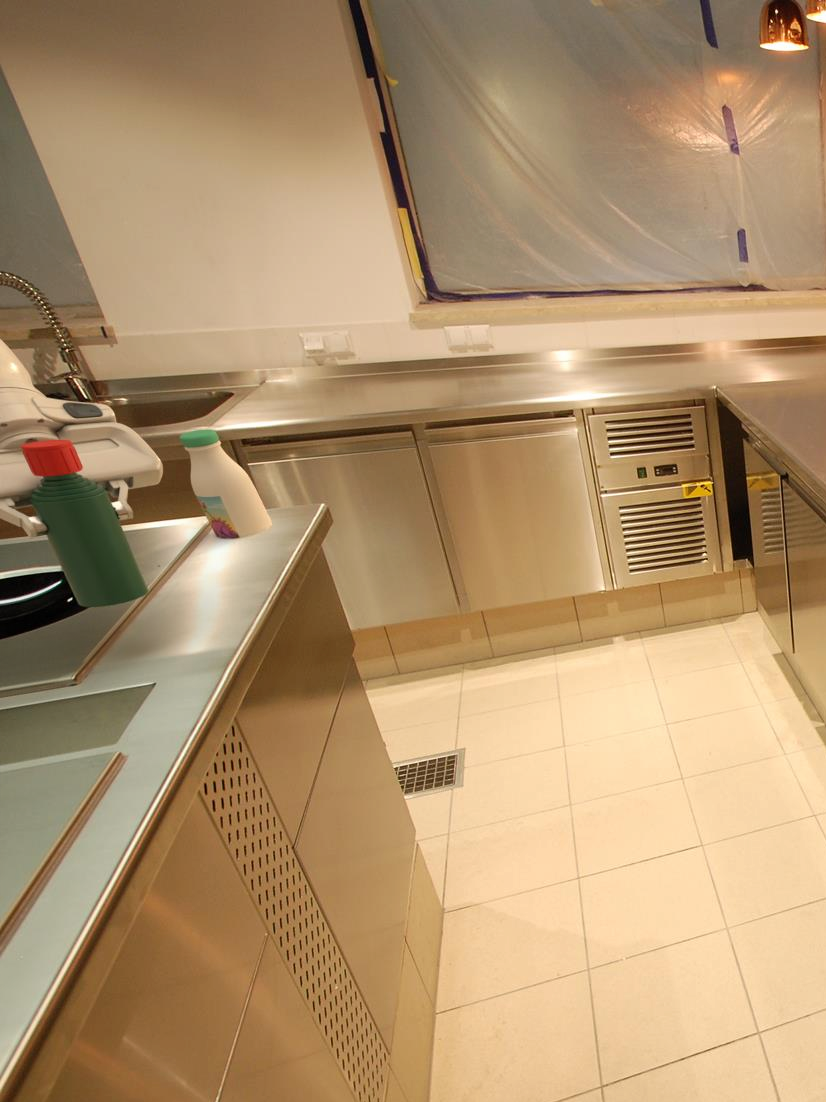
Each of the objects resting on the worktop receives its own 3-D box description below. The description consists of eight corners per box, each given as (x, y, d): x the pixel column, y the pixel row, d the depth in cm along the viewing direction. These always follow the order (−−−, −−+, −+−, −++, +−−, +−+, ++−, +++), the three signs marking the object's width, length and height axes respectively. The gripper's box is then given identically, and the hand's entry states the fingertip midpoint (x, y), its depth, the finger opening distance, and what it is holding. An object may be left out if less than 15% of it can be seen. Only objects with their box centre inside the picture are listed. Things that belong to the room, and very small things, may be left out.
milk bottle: (276, 534, 147) (222, 422, 136) (285, 547, 142) (231, 432, 132) (222, 548, 142) (162, 433, 132) (229, 562, 138) (168, 444, 127)
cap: (27, 477, 94) (14, 448, 93) (41, 469, 97) (28, 441, 96) (76, 474, 96) (64, 445, 95) (88, 466, 99) (76, 438, 98)
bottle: (70, 610, 100) (-3, 456, 92) (88, 592, 105) (20, 444, 97) (140, 601, 102) (75, 450, 94) (154, 584, 107) (94, 439, 99)
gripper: (-121, 429, 89) (-45, 533, 89) (124, 403, 105) (189, 490, 105) (-112, 465, 93) (-39, 564, 93) (124, 434, 109) (186, 519, 109)
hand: (84, 525), depth 99 cm, fingers closed on bottle, 6 cm apart
